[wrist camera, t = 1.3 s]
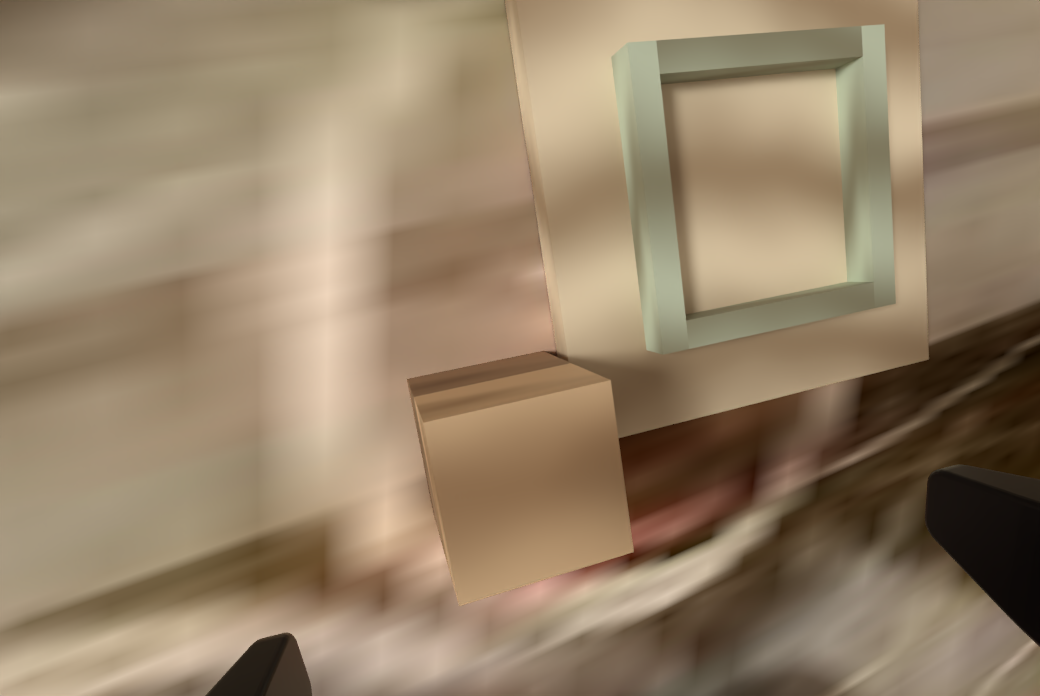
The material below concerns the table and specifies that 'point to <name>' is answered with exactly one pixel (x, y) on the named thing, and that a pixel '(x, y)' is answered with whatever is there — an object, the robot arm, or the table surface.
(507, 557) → the block
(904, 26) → the board
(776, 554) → the table surface
